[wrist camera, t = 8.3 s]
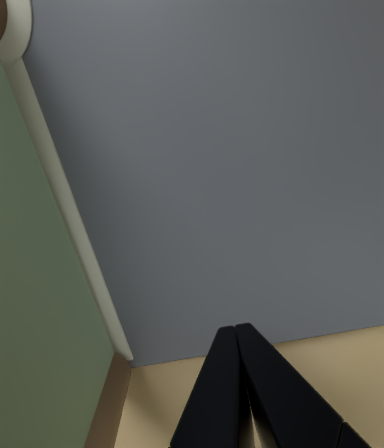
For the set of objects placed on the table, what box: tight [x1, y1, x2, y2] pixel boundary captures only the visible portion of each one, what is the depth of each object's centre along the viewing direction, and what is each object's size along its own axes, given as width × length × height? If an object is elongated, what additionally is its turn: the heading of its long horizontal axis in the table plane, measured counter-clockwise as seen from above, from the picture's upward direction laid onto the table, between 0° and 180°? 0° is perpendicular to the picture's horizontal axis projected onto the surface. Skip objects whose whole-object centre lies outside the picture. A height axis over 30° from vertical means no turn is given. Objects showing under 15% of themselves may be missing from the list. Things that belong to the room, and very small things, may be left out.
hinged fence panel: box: [0, 61, 131, 448], centre depth 7 cm, size 2×12×6 cm, turn 12°
